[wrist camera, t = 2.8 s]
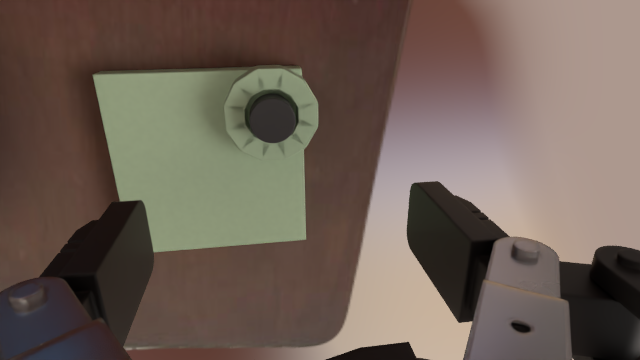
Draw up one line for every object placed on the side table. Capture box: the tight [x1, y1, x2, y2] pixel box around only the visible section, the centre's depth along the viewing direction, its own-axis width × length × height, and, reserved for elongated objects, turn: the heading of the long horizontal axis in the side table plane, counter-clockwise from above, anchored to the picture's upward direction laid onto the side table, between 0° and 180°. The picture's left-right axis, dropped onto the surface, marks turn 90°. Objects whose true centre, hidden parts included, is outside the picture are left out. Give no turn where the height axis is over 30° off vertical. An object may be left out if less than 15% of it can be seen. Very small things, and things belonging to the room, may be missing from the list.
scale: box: [93, 65, 318, 252], centre depth 27 cm, size 13×12×3 cm
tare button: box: [249, 93, 296, 143], centre depth 24 cm, size 3×3×2 cm
